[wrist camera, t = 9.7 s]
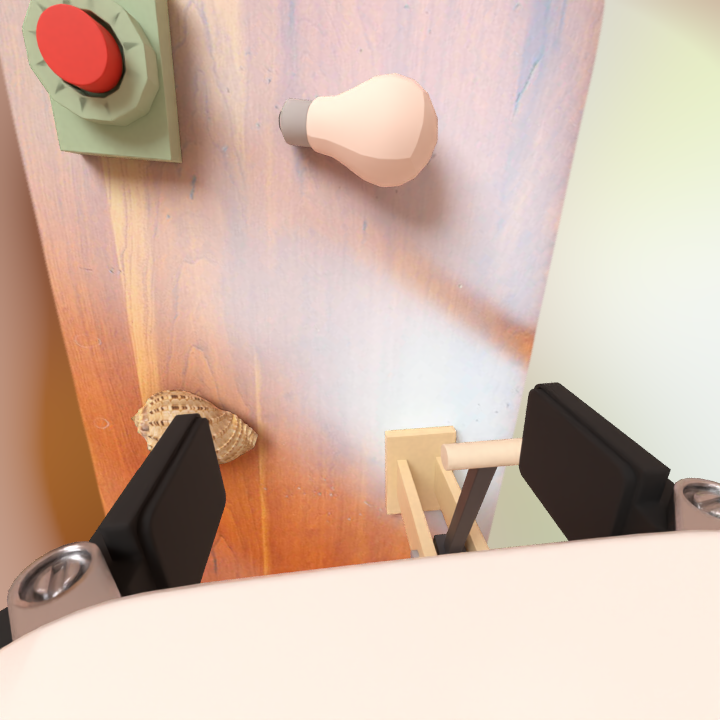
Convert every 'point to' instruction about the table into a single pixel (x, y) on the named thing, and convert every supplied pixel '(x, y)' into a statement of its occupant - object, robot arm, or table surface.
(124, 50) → the control block
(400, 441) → the bracket
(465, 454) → the lever
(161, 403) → the seashell
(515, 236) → the table surface
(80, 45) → the button
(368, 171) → the light bulb
